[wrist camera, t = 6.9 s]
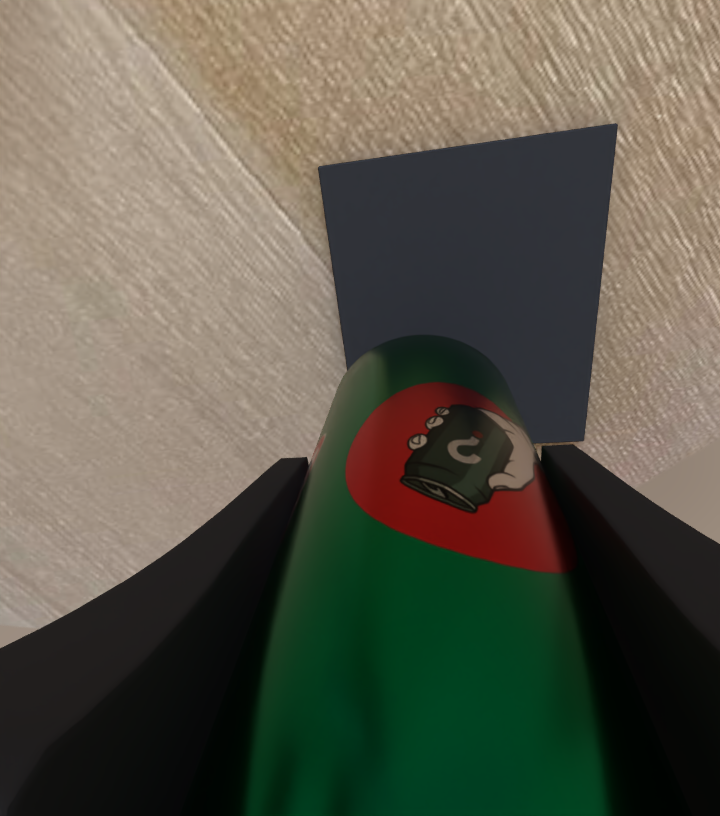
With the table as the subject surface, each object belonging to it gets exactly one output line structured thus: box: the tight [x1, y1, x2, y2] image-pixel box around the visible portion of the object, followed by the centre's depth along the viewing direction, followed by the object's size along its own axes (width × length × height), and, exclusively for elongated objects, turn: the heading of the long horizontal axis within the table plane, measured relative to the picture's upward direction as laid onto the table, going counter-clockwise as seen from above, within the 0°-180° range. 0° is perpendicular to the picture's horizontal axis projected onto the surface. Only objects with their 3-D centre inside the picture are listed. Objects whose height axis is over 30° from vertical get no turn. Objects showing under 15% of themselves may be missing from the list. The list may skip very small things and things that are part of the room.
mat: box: [318, 123, 618, 444], centre depth 18 cm, size 12×10×1 cm
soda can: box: [180, 335, 693, 816], centre depth 8 cm, size 5×5×12 cm
